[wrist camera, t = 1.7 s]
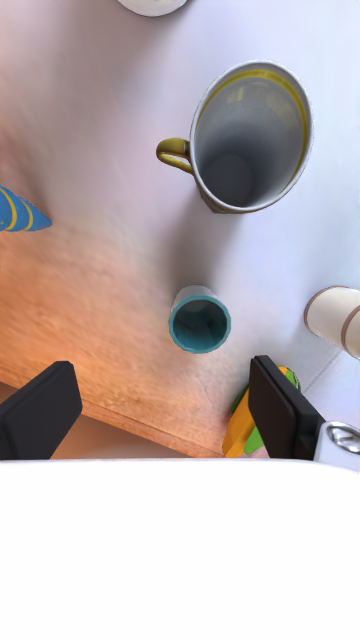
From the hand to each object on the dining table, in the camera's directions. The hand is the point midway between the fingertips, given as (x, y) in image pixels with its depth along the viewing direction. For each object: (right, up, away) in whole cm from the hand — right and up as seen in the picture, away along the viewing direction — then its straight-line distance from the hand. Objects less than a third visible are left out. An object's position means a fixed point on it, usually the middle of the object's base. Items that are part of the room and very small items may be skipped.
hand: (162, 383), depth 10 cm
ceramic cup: (+5, +21, +15) cm, 26 cm away
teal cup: (+3, +5, +20) cm, 21 cm away
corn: (+14, -12, +25) cm, 31 cm away
